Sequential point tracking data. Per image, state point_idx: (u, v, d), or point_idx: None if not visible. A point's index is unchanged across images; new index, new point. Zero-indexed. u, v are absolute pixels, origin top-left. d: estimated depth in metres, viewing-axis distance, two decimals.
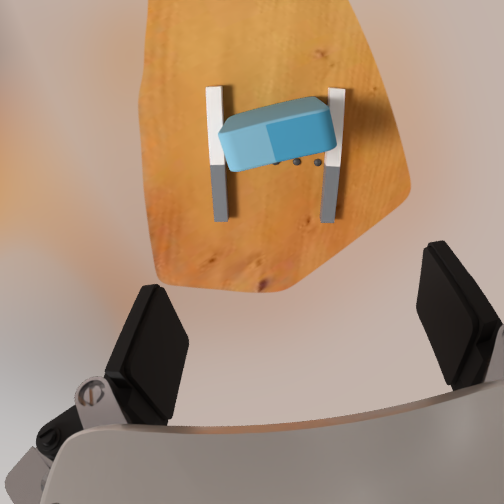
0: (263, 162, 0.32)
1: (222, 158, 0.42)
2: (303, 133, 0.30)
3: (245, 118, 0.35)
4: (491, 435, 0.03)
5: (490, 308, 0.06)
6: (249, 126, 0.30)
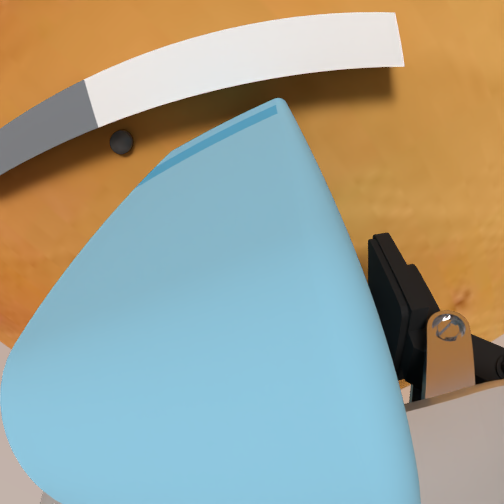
0: None
1: (117, 113, 0.10)
2: None
3: None
4: (491, 435, 0.03)
5: (422, 296, 0.07)
6: None
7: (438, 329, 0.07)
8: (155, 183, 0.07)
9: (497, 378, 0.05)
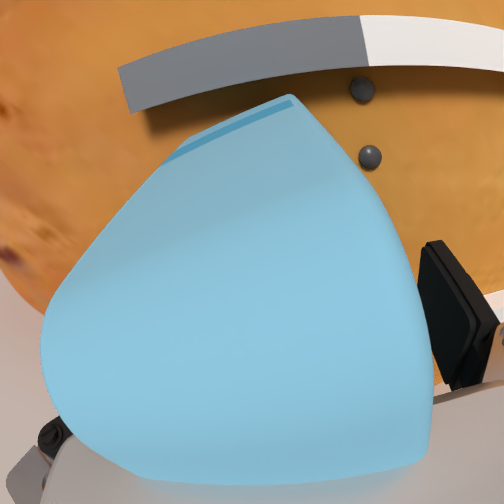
0: None
1: (391, 59, 0.09)
2: None
3: None
4: (491, 435, 0.03)
5: (487, 307, 0.06)
6: None
7: None
8: (183, 160, 0.07)
9: None
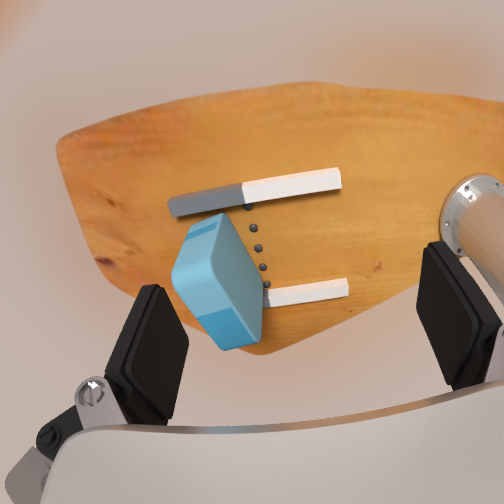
0: (191, 308, 0.31)
1: (253, 200, 0.36)
2: (231, 333, 0.33)
3: (228, 255, 0.34)
4: (491, 435, 0.03)
5: (490, 308, 0.06)
6: (225, 293, 0.30)
7: None
8: (191, 242, 0.34)
9: None
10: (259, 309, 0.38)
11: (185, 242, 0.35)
